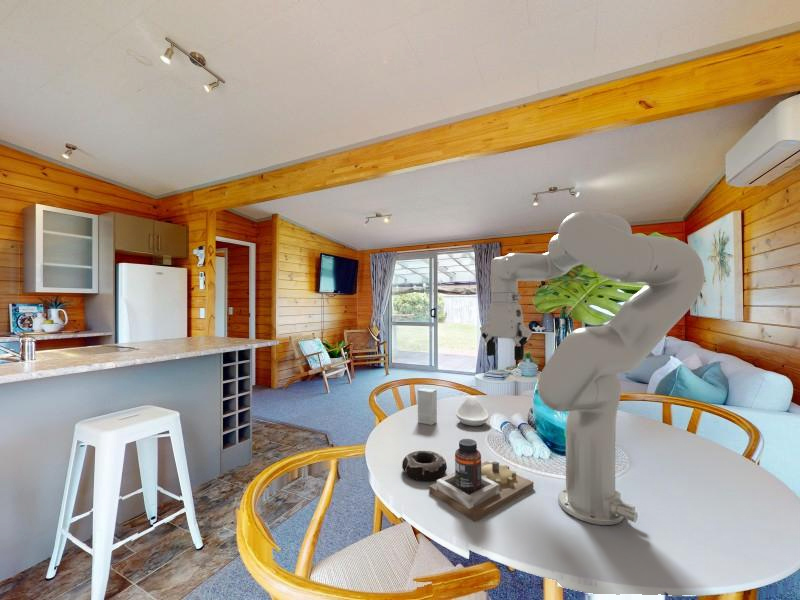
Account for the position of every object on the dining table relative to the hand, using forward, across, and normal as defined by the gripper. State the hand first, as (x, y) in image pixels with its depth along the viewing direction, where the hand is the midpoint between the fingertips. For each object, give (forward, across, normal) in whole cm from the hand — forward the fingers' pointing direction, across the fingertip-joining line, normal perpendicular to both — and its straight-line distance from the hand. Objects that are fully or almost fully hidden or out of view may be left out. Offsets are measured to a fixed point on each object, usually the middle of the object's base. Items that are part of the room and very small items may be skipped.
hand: (504, 357), depth 105 cm
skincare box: (+28, +34, 0) cm, 44 cm away
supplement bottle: (+27, -9, +26) cm, 39 cm away
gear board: (+28, -9, +21) cm, 36 cm away
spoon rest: (+29, +27, -17) cm, 43 cm away
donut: (+29, +6, +26) cm, 39 cm away
